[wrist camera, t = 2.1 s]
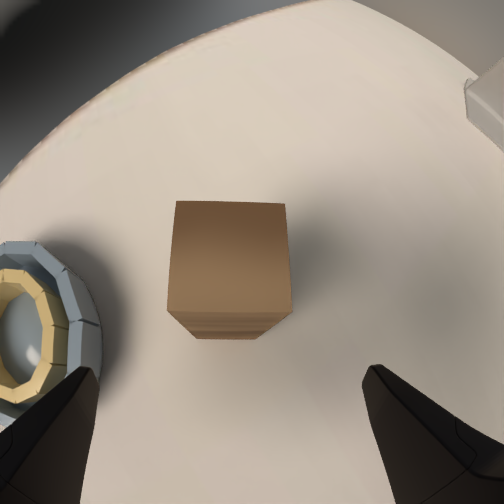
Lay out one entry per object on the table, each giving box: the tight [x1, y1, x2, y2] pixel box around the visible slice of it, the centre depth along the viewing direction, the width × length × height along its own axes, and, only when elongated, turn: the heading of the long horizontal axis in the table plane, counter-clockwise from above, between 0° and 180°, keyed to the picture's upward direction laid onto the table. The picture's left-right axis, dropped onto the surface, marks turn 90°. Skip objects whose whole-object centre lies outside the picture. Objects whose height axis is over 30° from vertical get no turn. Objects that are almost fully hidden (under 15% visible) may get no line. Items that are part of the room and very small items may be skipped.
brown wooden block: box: [167, 201, 292, 339], centre depth 15 cm, size 4×4×11 cm
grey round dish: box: [0, 241, 103, 427], centre depth 15 cm, size 14×14×4 cm
